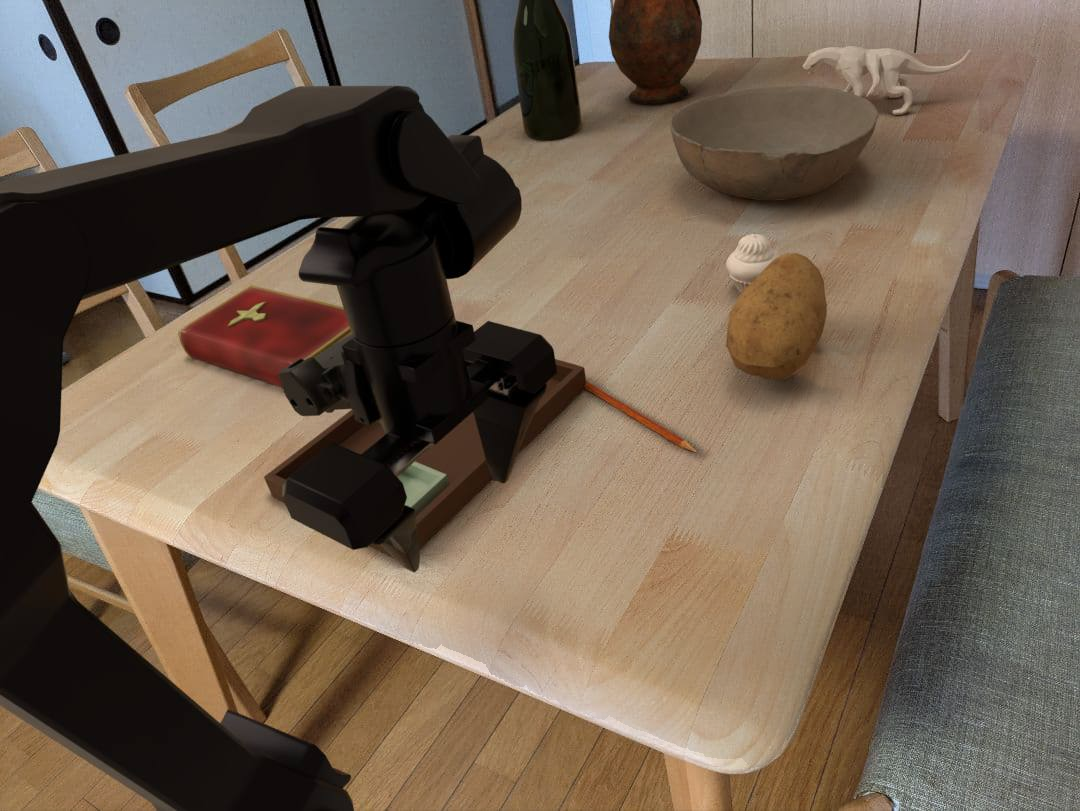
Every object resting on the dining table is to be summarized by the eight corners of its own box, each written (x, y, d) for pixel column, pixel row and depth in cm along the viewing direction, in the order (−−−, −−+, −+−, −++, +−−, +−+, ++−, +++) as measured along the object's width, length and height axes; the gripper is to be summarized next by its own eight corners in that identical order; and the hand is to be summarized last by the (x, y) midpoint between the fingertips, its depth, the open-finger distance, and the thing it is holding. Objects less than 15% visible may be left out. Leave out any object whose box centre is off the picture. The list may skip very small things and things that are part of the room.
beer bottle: (565, 143, 145) (538, -73, 126) (514, 140, 150) (480, -68, 131) (592, 121, 152) (570, -86, 133) (542, 119, 157) (514, -81, 138)
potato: (706, 394, 82) (703, 312, 77) (760, 315, 92) (761, 238, 87) (793, 413, 78) (797, 328, 73) (840, 328, 88) (847, 248, 83)
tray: (404, 563, 70) (397, 542, 68) (271, 496, 79) (263, 476, 78) (587, 387, 86) (584, 367, 85) (459, 348, 96) (455, 330, 94)
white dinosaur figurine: (800, 99, 146) (802, 39, 140) (957, 89, 139) (967, 25, 133) (800, 123, 137) (802, 60, 131) (968, 114, 130) (979, 47, 124)
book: (306, 398, 92) (294, 366, 89) (188, 359, 103) (174, 330, 100) (378, 342, 99) (369, 311, 97) (261, 311, 110) (250, 283, 108)
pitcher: (624, 85, 167) (611, -87, 150) (733, 79, 160) (732, -101, 143) (603, 113, 155) (586, -70, 137) (720, 109, 148) (718, -85, 130)
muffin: (719, 283, 99) (718, 229, 95) (768, 273, 100) (770, 218, 95) (737, 308, 94) (737, 252, 90) (789, 297, 95) (792, 240, 90)
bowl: (652, 220, 116) (648, 149, 110) (694, 145, 136) (692, 82, 130) (865, 225, 106) (872, 148, 100) (876, 144, 126) (883, 75, 120)
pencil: (575, 377, 88) (574, 372, 88) (700, 453, 76) (700, 447, 75) (569, 381, 88) (568, 375, 87) (694, 457, 75) (693, 451, 75)
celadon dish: (406, 535, 72) (400, 516, 70) (358, 512, 75) (351, 494, 74) (451, 492, 75) (446, 474, 74) (404, 472, 78) (398, 454, 77)
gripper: (411, 228, 56) (457, 412, 65) (177, 373, 45) (272, 572, 54) (545, 255, 50) (574, 454, 59) (313, 430, 39) (394, 642, 48)
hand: (457, 522), depth 55 cm, fingers open, 9 cm apart
